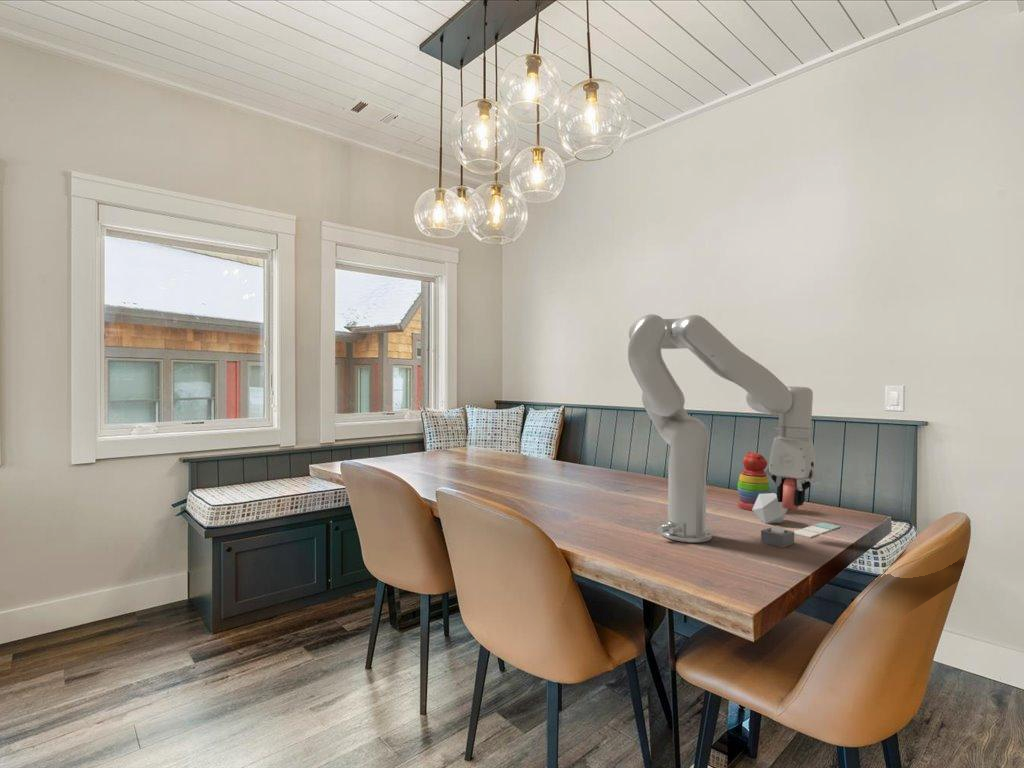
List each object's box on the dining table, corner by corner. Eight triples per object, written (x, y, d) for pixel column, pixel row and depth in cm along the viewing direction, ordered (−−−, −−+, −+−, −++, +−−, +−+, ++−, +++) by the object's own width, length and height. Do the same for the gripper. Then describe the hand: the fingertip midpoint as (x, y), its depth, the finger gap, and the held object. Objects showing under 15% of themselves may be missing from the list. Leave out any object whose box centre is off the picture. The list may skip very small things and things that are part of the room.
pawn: (793, 510, 141) (795, 478, 140) (779, 506, 144) (780, 475, 144) (800, 508, 143) (802, 477, 143) (786, 505, 146) (788, 474, 146)
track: (810, 537, 143) (810, 536, 143) (791, 533, 147) (791, 532, 147) (830, 530, 150) (830, 529, 150) (811, 526, 154) (811, 525, 154)
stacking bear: (778, 511, 170) (779, 454, 170) (747, 512, 170) (747, 455, 170) (761, 503, 181) (761, 450, 181) (731, 503, 181) (731, 450, 180)
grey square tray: (782, 547, 135) (782, 535, 135) (760, 542, 139) (761, 530, 139) (794, 543, 138) (794, 532, 138) (772, 538, 143) (772, 526, 143)
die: (788, 530, 153) (798, 498, 157) (760, 514, 153) (770, 483, 157) (769, 532, 161) (779, 502, 165) (743, 517, 161) (753, 487, 165)
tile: (831, 530, 150) (831, 529, 150) (813, 526, 154) (813, 525, 154) (840, 527, 153) (840, 526, 153) (821, 523, 157) (821, 522, 157)
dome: (780, 543, 136) (780, 528, 136) (768, 540, 139) (768, 525, 139) (787, 541, 138) (787, 526, 138) (774, 538, 141) (774, 523, 141)
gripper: (756, 430, 147) (752, 498, 148) (820, 438, 134) (815, 512, 134) (771, 429, 152) (767, 495, 152) (834, 437, 138) (830, 509, 139)
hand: (790, 502), depth 143 cm, fingers closed on pawn, 3 cm apart
